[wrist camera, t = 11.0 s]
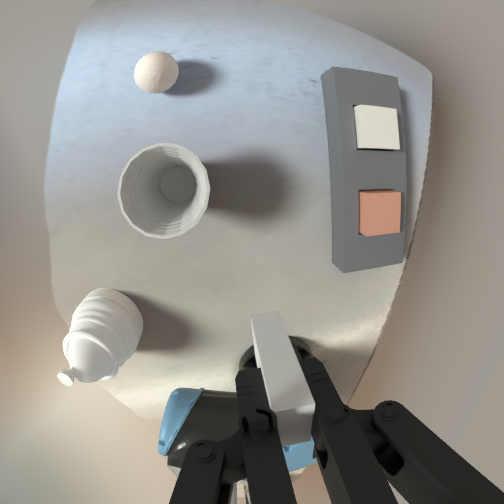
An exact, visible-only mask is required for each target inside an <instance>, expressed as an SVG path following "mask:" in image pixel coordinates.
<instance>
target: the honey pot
mask: <svg viewBox="0 0 504 504" xmlns="http://www.w3.org/2000/svg"><path fill="white" fill-rule="evenodd" d="M142 331H143V319H142V316H141V313H140V311H139V309H138V308H137V306H136V305H135V304H134V303H133V301H132V300H131V299H130V298H128V297H127V296H125V295H124V294H123V293H121V292H118V291H116V290H113V289H108V288H101V289H96V290H94V291H91V292H90V293H89V294H88V295H87V296H86V297H85V298H84V300H83V301H82V302H81V303H80V305H79V306H78V307H77V308H76V310H75V312H74V314H73V316H72V323H71V327H70V331H69V333H68V334H67V335H66V336H65V338H64V341H63V350H64V354H65V356H66V358H67V360H68V361H69V364H70V368H71V370H70V369H63V370H61V371H60V372H59V373H58V375H57V377H58V379H59V380H60V381H61V382H62V383H63V384H65V385H67V386H72V384H73V381H74V376H75V378H76V379H77V380H79V381H81V382H84V383H91V382H95V381H98V380H99V381H105V380H109V379H111V378H113V377H114V376H115V375H116V374H117V372H118V368H119V367H120V366H122V365H123V363H124V362H125V361H126V360H127V359H129V358H130V357H131V356H132V355H133V353H134V352H135V351H136V348H137V345H138V343H139V340H140V337H141V334H142ZM73 375H74V376H73Z"/></svg>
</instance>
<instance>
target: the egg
mask: <svg viewBox="0 0 504 504" xmlns="http://www.w3.org/2000/svg"><path fill="white" fill-rule="evenodd" d="M178 74H179V68H178V64H177V62H176V60H175V59H174V58H173V57H172V56H171V55H169V54H167V53H165V52H152V53H149V54H147V55H145V56H144V57H142V58H141V59H140V60H139V61H138V63H137V65H136V67H135V70H134V78H135V81H136V84H137V85H138V86H139V87H140V89H142V90H143V91H145V92H148V93H161V92H164V91H166V90H168V89H169V88H170V87H172V86H173V85H174V83H175V82H176V80H177V78H178Z"/></svg>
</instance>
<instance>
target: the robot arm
mask: <svg viewBox="0 0 504 504" xmlns="http://www.w3.org/2000/svg"><path fill="white" fill-rule="evenodd" d="M251 325H252V334H253V343H254V345H253V346H251V347H250V348H249V349H248V350H247V351H246V352H245V353H244V355H243V356H242V358H241V361H240V364H239V372H238V374H237V376H236V378H235V382H236V391H237V392H225V391H214V390H204V388H200V389H192V388H178V389H175V390H174V391H173V392H172V393H171V395H170V397H169V399H168V402H167V405H166V408H165V412H164V416H163V420H162V425H161V429H160V435H159V444H158V452H159V453H160V454H162V455H163V456H167V455H168V464H167V466H168V468H169V469H170V470H171V471H172V472H173V473H174V474H175V475H176V477H177V481H176V484H175V487H174V490H173V493H172V496H171V499H170V502H169V504H237V482H238V481H241V480H243V479H246V478H247V483H248V489H249V496H250V502H251V504H297V502H296V498H295V494H294V491H293V487H292V483H291V479H290V475H289V472H290V471H294V470H298V469H301V468H304V467H306V466H309V465H311V464H313V463H315V462H316V461H317V462H318V464H319V467H320V470H321V473H322V476H323V479H324V482H325V485H326V488H327V491H328V494H329V497H330V500H331V503H332V504H398V502H397V500H396V498H395V496H394V494H393V492H392V490H391V487H390V486H389V483H390V484H391V485H392V486H393V487H394V488H395V489H396V490H397V491H398V492H399V493H400V494H401V495H402V496H403V498H404V499H405V500H406V501H407V502H408V503H409V504H504V493H503V492H502V491H501V490H500V489H499V488H498V487H496V486H495V485H494V484H493V483H492V482H490V481H489V480H488V479H487V478H486V477H484V476H483V475H482V474H481V473H480V472H479V471H477V470H476V469H475V468H474V467H473V466H471V465H470V464H469V463H468V462H467V461H466V460H465V459H463V458H462V457H461V456H460V455H459V454H457V453H456V452H455V451H454V450H453V449H452V448H451V447H449V446H448V445H447V444H446V443H445V442H444V441H443V440H441V439H440V438H439V437H438V436H437V435H436V434H434V433H433V432H432V431H431V430H430V429H429V428H428V427H427V426H425V425H424V424H423V423H422V422H421V421H420V420H418V419H417V418H416V417H415V416H414V415H413V414H412V413H411V412H409V411H408V410H407V409H406V408H405V407H404V406H403V405H402V404H400V403H398V402H396V401H391V400H390V401H384V402H381V403H379V404H378V405H377V406H376V407H375V409H374V410H355V409H351V408H349V407H348V406H346V405H344V404H343V402H342V401H341V399H340V397H339V395H338V393H337V391H336V389H335V387H334V385H333V383H332V381H331V379H330V377H329V375H328V373H327V372H326V369H325V367H324V365H323V363H322V362H320V361H319V360H318V359H317V358H315V357H313V355H312V352H311V350H310V348H309V347H308V346H307V344H306V343H304V342H303V341H301V340H299V339H297V338H294V337H289V336H288V334H287V332H286V329H285V327H284V324H283V322H282V319H281V317H280V314H279V312H272V313H265V314H258V315H251ZM387 480H388V481H389V483H388V481H387Z"/></svg>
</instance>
